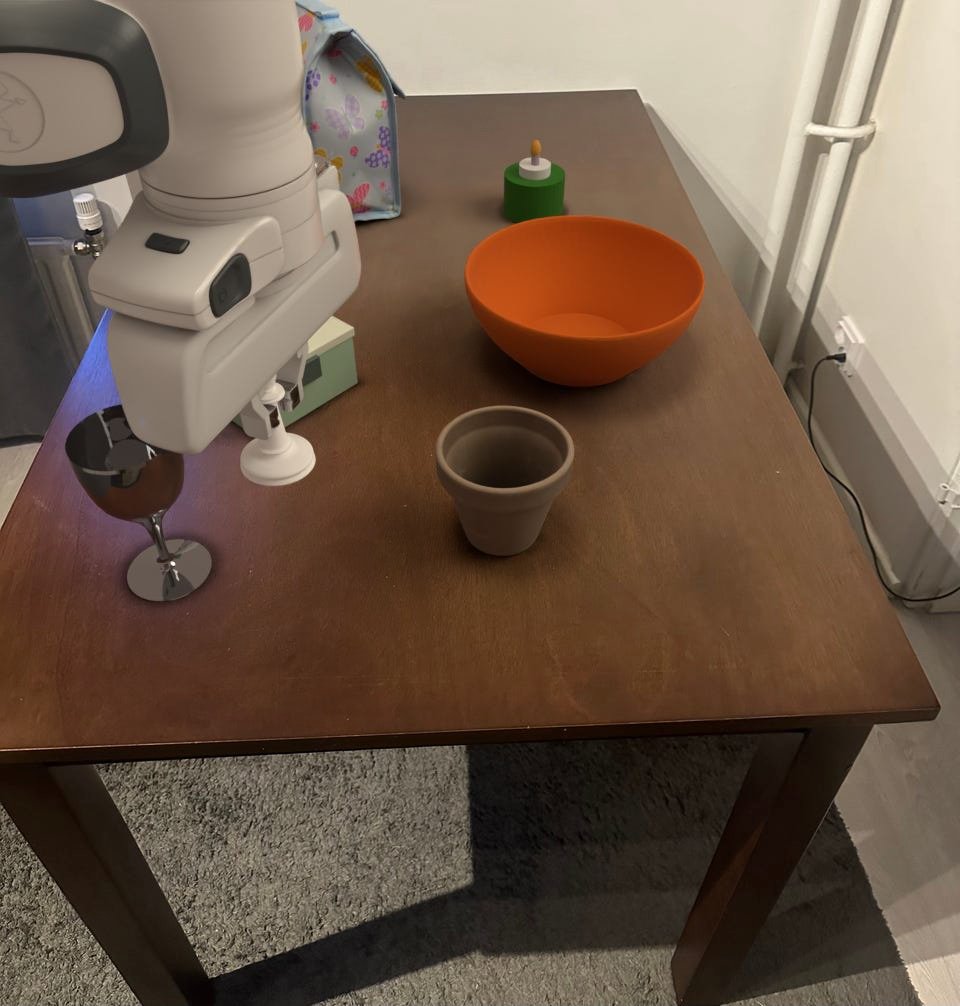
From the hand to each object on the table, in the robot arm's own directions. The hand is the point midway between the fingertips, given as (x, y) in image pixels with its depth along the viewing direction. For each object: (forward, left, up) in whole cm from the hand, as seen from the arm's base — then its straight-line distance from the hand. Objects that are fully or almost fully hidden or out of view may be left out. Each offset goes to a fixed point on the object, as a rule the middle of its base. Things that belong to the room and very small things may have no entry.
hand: (275, 418), depth 57 cm
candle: (+68, +33, -22) cm, 79 cm away
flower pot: (+18, -4, -22) cm, 29 cm away
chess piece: (0, 0, -4) cm, 4 cm away
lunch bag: (+52, +57, -22) cm, 80 cm away
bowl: (+45, +8, -22) cm, 51 cm away
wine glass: (-4, +14, -22) cm, 26 cm away
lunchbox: (+18, +27, -22) cm, 39 cm away
